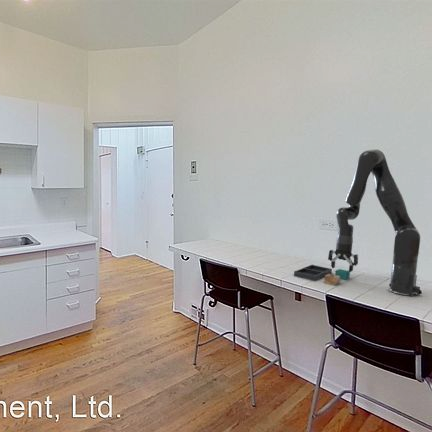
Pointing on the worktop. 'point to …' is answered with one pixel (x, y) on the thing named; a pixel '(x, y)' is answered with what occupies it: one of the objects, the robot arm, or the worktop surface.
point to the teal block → (342, 274)
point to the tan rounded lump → (332, 279)
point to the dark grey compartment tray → (312, 272)
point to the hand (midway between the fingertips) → (341, 269)
